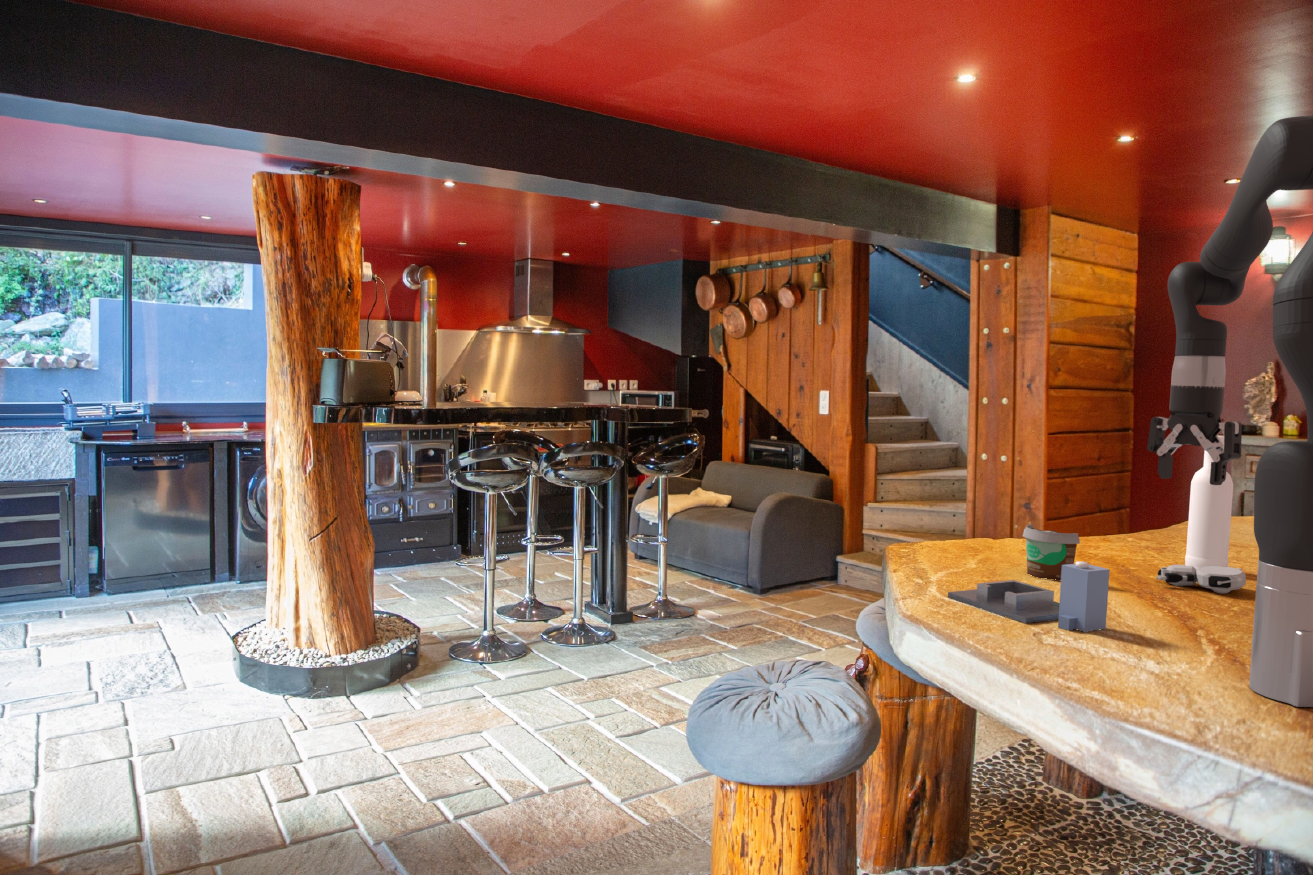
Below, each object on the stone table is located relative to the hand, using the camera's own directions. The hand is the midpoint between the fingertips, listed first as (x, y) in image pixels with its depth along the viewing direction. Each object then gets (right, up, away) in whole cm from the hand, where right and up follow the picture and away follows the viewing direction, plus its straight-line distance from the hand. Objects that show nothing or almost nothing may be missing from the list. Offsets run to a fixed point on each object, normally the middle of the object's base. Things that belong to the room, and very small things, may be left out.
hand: (1189, 481), depth 142 cm
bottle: (+33, -22, +46) cm, 61 cm away
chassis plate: (-25, -23, +11) cm, 36 cm away
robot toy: (+21, -23, +30) cm, 43 cm away
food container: (-8, -22, +36) cm, 43 cm away
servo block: (-18, -24, -1) cm, 30 cm away
